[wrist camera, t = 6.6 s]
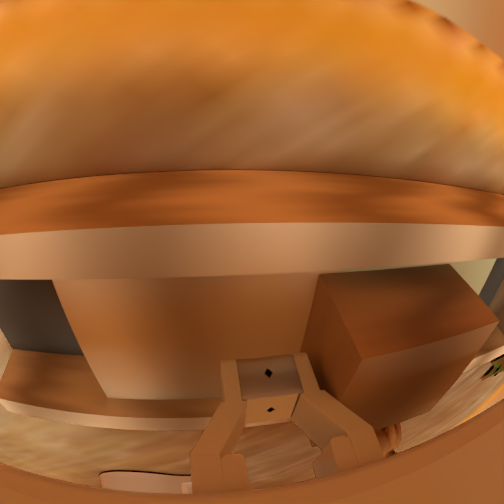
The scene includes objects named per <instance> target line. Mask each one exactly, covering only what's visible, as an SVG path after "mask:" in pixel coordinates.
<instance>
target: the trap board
mask: <svg viewBox="0 0 504 504" xmlns="http://www.w3.org/2000/svg"><path fill="white" fill-rule="evenodd" d="M495 258H497V259H496V261H495V263H494V266H493V268H492V270H491V272H490V274H489V276H488V278H487V280H486V282H485V284H484V286H483V288H482V290H481V292H480V293H479V295H478V296H479V297H480V298H481V299H482V300H483V302H484V303H485V304H486V305H487V306H488V307H489V309H490V310H491V311H492V312H493V313H494V315H495V316H496V317H497V318H498V320H499V322H498V324H497V326H496V327H495V329H494V330H493V332H492V333H491V335H490V336H489V338H488V339H487V341H486V342H485V343H484V345H483V346H482V348H481V349H480V350H479V352H478V353H477V355H476V356H475V357H474V359H473V360H472V361H471V363H470V364H469V365H468V366H467V368H466V369H465V370H464V372H466V371H469V370H471V369H473V368H476V367H478V366H480V365H482V364H484V363H486V362H488V361H491V360H493V359H495V358H497V357H499V356H501V355H503V354H504V195H501V194H496V193H491V192H486V191H480V190H474V189H468V188H462V187H456V186H449V185H442V184H435V183H428V182H420V181H412V180H403V179H394V178H385V177H374V176H363V175H350V174H336V173H320V172H300V171H269V170H196V171H166V172H146V173H130V174H116V175H104V176H93V177H82V178H73V179H64V180H56V181H48V182H40V183H33V184H26V185H20V186H13V187H7V188H1V189H0V328H1V330H2V332H3V333H4V335H5V337H6V338H7V340H8V342H9V343H10V345H11V346H12V348H13V350H12V353H11V355H10V358H9V360H8V363H7V366H6V368H5V371H4V374H3V376H2V379H1V382H0V403H1V404H2V405H3V406H4V407H5V408H6V409H7V410H8V411H9V412H13V413H17V414H22V415H26V416H31V417H35V418H40V419H46V420H51V421H57V422H63V423H69V424H76V425H84V426H92V427H102V428H113V429H127V430H148V431H196V430H205V428H206V427H207V425H208V423H209V422H210V420H211V418H212V417H213V415H214V413H215V411H216V410H217V408H218V406H219V405H220V403H221V402H223V401H222V393H221V379H220V360H229V359H248V358H262V357H267V356H276V355H284V354H296V353H300V349H301V346H302V342H303V338H304V334H305V330H306V327H307V323H308V319H309V315H310V311H311V307H312V302H313V298H314V294H315V290H316V285H317V281H318V277H319V274H328V273H343V270H349V269H365V268H381V267H395V266H409V265H423V264H436V263H448V262H461V261H472V260H484V259H495ZM464 372H463V373H464ZM291 421H292V420H291V418H289V419H281V420H272V421H264V422H257V423H249V424H245V426H244V427H253V426H262V425H270V424H277V423H284V422H291Z"/></svg>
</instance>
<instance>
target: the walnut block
mask: <svg viewBox="0 0 504 504" xmlns="http://www.w3.org/2000/svg"><path fill="white" fill-rule="evenodd" d="M498 322H499V320H498V318H497V317H496V316H495V315H494V313H493V312H492V311H491V310H490V309H489V307H488V306H487V305H486V304H485V303H484V302H483V300H482V299H481V298H480V297H479V296H478V295H477V293H476V292H475V291H474V290H473V289H472V288H471V287H470V286H469V284H468V283H467V282H466V281H465V280H464V279H463V278H462V277H461V276H460V275H459V274H458V273H457V271H456V270H455V269H454V268H453V267H452V266H451V265H450V264H442V265H431V266H420V267H408V268H396V269H383V270H370V271H357V272H343V273H328V274H319V277H318V281H317V285H316V290H315V294H314V298H313V302H312V307H311V311H310V315H309V319H308V323H307V327H306V330H305V334H304V338H303V342H302V346H301V349H300V353H303V352H305V353H306V354H307V355H308V358H309V360H310V363H311V366H312V369H313V372H314V374H315V377H316V380H317V383H318V386H319V389H320V390H325V391H326V392H328V393H329V394H330V395H331V396H333V397H334V398H335V399H337V400H338V401H339V402H340V403H342V404H343V405H344V406H346V407H347V408H348V409H350V410H351V411H352V412H354V413H355V414H356V415H357V416H359V417H360V418H361V419H363V420H364V421H366V422H367V423H368V424H370V425H371V426H372V427H373V429H374V431H375V430H379V429H382V428H385V427H388V426H391V425H394V424H397V423H399V422H402V421H405V420H408V419H410V418H413V417H416V416H418V415H421V414H423V413H426V412H428V411H430V410H431V409H432V408H433V407H434V405H435V404H436V403H437V402H438V401H439V400H440V399H441V398H442V397H443V396H444V394H445V393H446V392H447V391H448V390H449V389H450V387H451V386H452V385H453V384H454V383H455V381H456V380H457V379H458V378H459V377H460V375H461V374H462V373H463V372H464V370H465V369H466V368H467V366H468V365H469V364H470V363H471V361H472V360H473V359H474V357H475V356H476V355H477V353H478V352H479V350H480V349H481V348H482V346H483V345H484V343H485V342H486V341H487V339H488V338H489V336H490V335H491V333H492V332H493V330H494V329H495V327H496V326H497V324H498ZM309 439H310V438H309ZM310 443H311V446H312V447H314V446H317V445H316V444H315V443H314V442H313V441H312V440H311V439H310Z"/></svg>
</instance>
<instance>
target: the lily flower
mask: <svg viewBox="0 0 504 504" xmlns="http://www.w3.org/2000/svg"><path fill="white" fill-rule="evenodd" d="M492 364H493V366H494V368H493V369H492V370H491V371H490V372H489V373H488V374H487V375H486V376H485V377H484V378H483V379H482V380H484V379H486V378H488V377H490V376H491V375H492V374H493V373H494V372H495V371H496V370H497V369H498V368H499V367H500V366H501V367H500V368H499V370H498V372H497V373H496V374H495V375H494V376H496V375H497V374H498V373H500V372H502V371H504V357H502V358H500V359H498V360H496V361H494V362H492ZM482 380H481V381H482Z"/></svg>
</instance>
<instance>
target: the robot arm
mask: <svg viewBox="0 0 504 504" xmlns="http://www.w3.org/2000/svg"><path fill="white" fill-rule="evenodd" d="M220 379H221V393H222V401H223V402H221V403H220V405H219V406H218V408H217V410H216V411H215V413H214V415H213V417H212V418H211V420H210V422H209V423H208V425H207V427H206V428H205V430H204V432H203V433H202V435H201V437H200V438H199V440H198V442H197V443H196V445H195V447H194V448H193V450H192V452H191V453H190V470H191V476H172V475H162V474H152V473H140V472H107V473H102V474H100V475H99V477H100V481H101V485H102V488H99V487H93V486H87V485H82V484H76V483H71V482H67V481H62V480H58V479H53V478H49V477H46V476H42V475H38V474H34V473H31V472H28V471H24V470H21V469H18V468H15V467H12V466H9V465H6V464H3V463H1V462H0V504H504V399H502V400H501V401H499V402H498V403H496V404H495V405H493V406H491V407H490V408H488V409H487V410H485V411H484V412H482V413H480V414H478V415H477V416H475V417H473V418H471V419H469V420H468V421H466V422H464V423H462V424H460V425H458V426H457V427H455V428H453V429H451V430H449V431H447V432H445V433H443V434H441V435H439V436H437V437H434V438H432V439H430V440H428V441H426V442H424V443H421V444H419V445H417V446H414V447H412V448H410V449H407V450H405V451H402V452H400V453H397V454H394V455H392V456H389V457H386V458H385V457H384V454H383V452H382V449H381V447H380V444H379V442H378V439H377V437H376V434H375V432H374V429H373V427H372V426H371V425H370V424H368V423H367V422H366V421H364V420H363V419H361V418H360V417H359V416H357V415H356V414H355V413H354V412H352V411H351V410H350V409H348V408H347V407H346V406H344V405H343V404H342V403H340V402H339V401H338V400H337V399H335V398H334V397H333V396H331V395H330V394H329V393H328V392H326V391H325V390H320V389H319V386H318V383H317V380H316V377H315V374H314V372H313V369H312V366H311V363H310V360H309V358H308V355H307V354H306V353H305V352H303V353H296V354H284V355H276V356H267V357H262V358H248V359H229V360H220ZM289 418H291V420H292V421H293V422H294V423H295V424H296V425H297V426H298V427H299V428H300V429H301V430H302V431H303V432H304V433H305V434H306V435H307V436H308V437H309V438H310V439H311V440H312V441H313V442H314V443H315V444H316V445H317V446H318V447H319V448H320V449H321V450H322V452H321V454H320V455H319V456H318V457H317V459H316V460H315V461H314V462H313V468H314V472H315V476H316V478H315V479H311V480H306V481H301V482H296V483H291V484H286V485H280V486H274V487H267V488H260V489H252V490H251V489H250V484H249V479H248V474H247V468H246V463H245V457H244V456H243V455H241V454H239V453H235V454H232V452H233V449H234V447H235V445H236V443H237V441H238V439H239V437H240V435H241V433H242V431H243V429H244V426H245V424H249V423H257V422H264V421H272V420H281V419H289Z"/></svg>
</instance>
